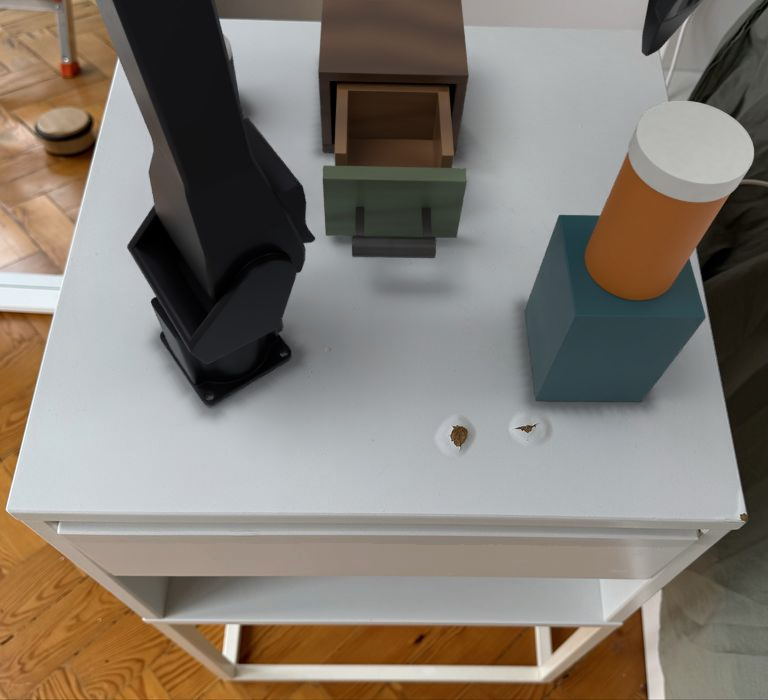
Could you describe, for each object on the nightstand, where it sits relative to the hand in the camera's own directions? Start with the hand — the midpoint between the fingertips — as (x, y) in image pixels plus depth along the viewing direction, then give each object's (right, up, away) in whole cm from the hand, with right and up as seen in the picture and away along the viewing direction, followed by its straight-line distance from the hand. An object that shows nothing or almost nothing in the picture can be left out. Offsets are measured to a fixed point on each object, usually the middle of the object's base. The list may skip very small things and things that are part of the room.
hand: (595, 8), depth 43 cm
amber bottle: (+1, -15, -3) cm, 16 cm away
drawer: (-12, -10, +11) cm, 19 cm away
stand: (+1, -21, +6) cm, 21 cm away
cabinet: (-12, 0, +17) cm, 21 cm away
